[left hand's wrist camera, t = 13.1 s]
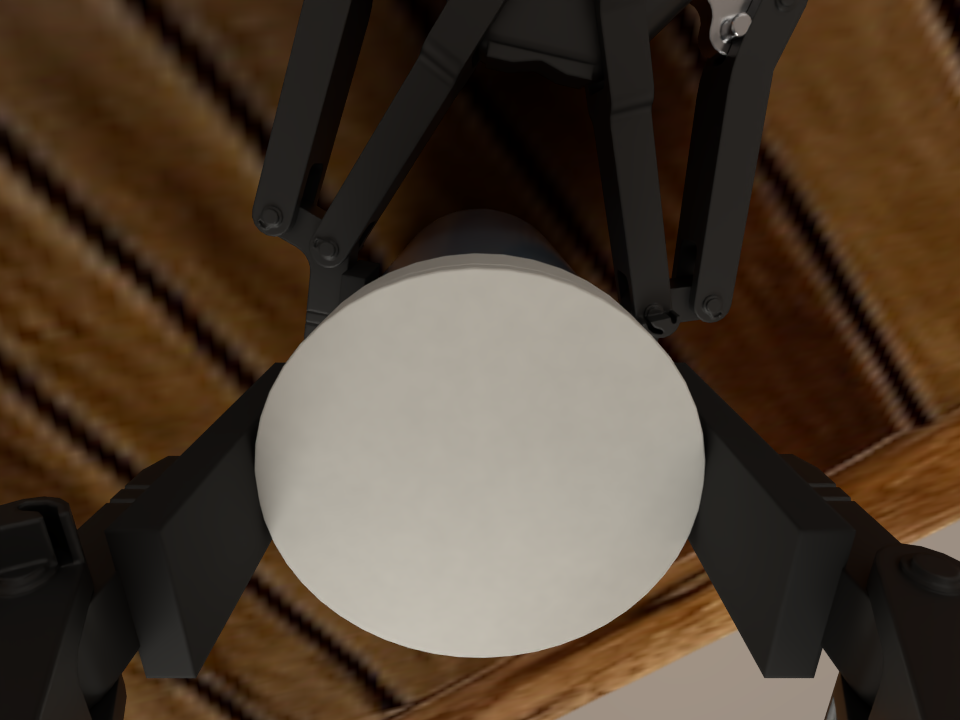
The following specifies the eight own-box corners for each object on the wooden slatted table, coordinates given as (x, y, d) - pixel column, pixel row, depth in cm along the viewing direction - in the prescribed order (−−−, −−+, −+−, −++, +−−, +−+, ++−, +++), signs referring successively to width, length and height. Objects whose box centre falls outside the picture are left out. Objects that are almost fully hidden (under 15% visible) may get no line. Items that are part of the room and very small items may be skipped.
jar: (417, 393, 27) (347, 656, 13) (371, 230, 24) (215, 331, 10) (579, 361, 26) (697, 598, 12) (550, 190, 24) (660, 234, 9)
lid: (394, 646, 14) (384, 703, 12) (202, 356, 11) (160, 386, 10) (723, 533, 13) (755, 581, 11) (600, 176, 10) (620, 179, 9)
